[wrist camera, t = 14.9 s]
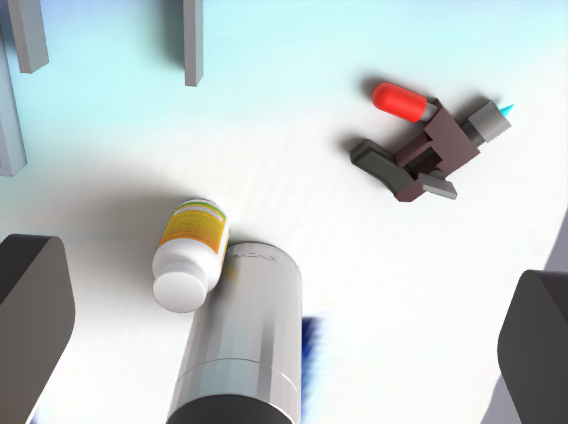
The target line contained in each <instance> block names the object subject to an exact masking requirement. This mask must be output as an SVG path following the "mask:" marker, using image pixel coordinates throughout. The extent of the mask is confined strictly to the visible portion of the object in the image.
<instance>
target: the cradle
mask: <svg viewBox="0 0 568 424" xmlns="http://www.w3.org/2000/svg"><path fill="white" fill-rule="evenodd" d="M7 2H8V7H9V13H10V18H11V24H12V29H13V35H14V40H15V46H16V51H17V57H18V62H19V68H20V73H31V74H32V73H33V72H35V71H36V70H38V69H39V68H41V67H42V66H44V65H46V64H47V63H49V60H48V53H47V47H46V40H45V33H44V27H43V20H42V14H41V7H40V1H39V0H7ZM183 17H184V59H185V86H193V87H196V86H197V85H198V83H199V81H200V79H201V78H202V76H203V0H183Z"/></svg>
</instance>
